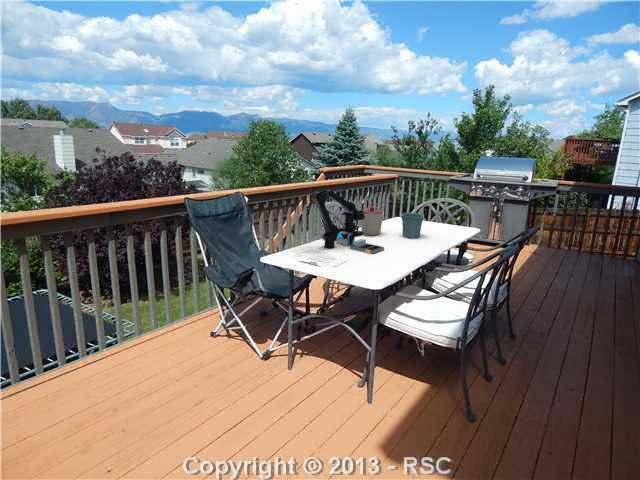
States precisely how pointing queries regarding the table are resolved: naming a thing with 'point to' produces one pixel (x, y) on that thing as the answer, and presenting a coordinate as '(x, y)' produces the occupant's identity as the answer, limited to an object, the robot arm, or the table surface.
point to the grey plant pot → (372, 221)
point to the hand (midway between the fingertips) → (348, 244)
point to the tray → (322, 259)
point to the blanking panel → (347, 242)
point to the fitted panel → (360, 242)
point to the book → (338, 237)
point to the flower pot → (412, 224)
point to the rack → (368, 248)
